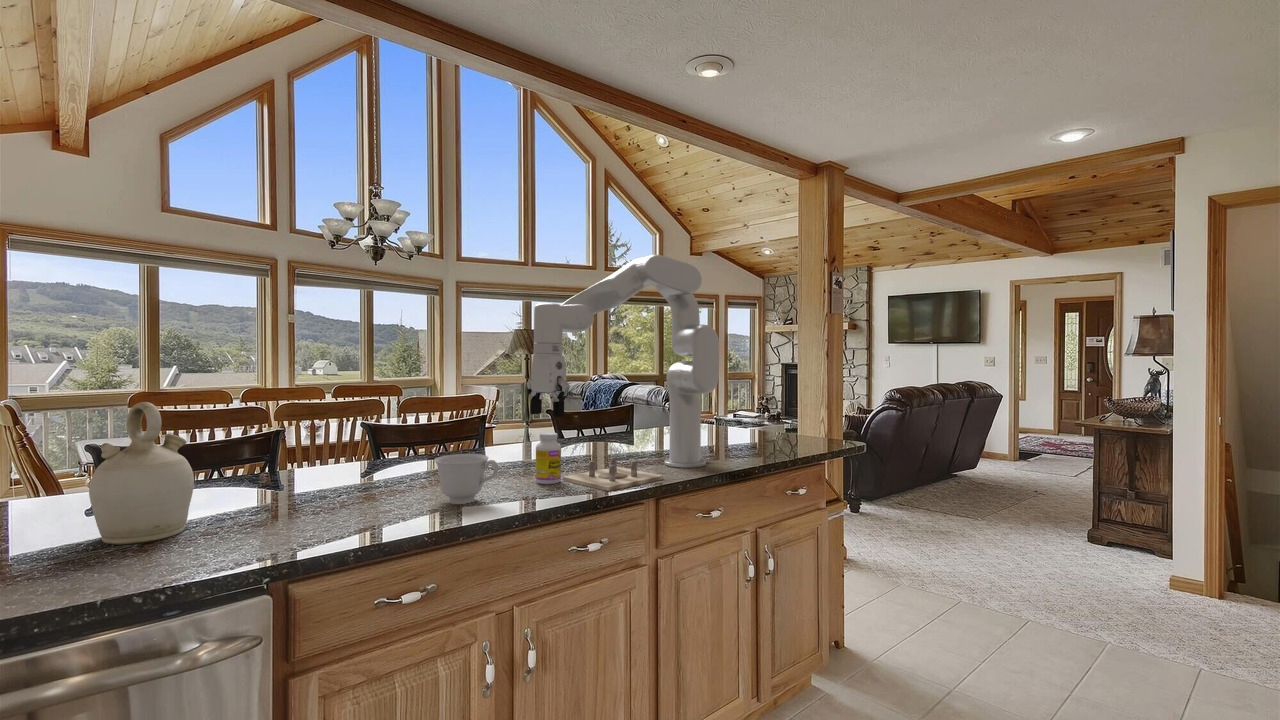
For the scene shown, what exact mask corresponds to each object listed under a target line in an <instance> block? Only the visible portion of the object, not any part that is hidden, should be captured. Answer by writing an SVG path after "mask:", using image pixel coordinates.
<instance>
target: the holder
mask: <svg viewBox="0 0 1280 720" xmlns="http://www.w3.org/2000/svg"><path fill="white" fill-rule="evenodd" d="M617 458H618V457H615V456H613V457H612V456H611V457H610V464H609V465H608V468H604V469H603V468H602V469H597V470H596V461H595V460H589V461H588V471H587V472H581V473H576V474H570V475H565V476H562V481H564V482H567V483H572V484H576V485H581V486H583V487H589V488H593V489H598V490H601V491H606V492H612V491H615V490H621V489H625V488H629V487H634V486H638V485H644V484H647V483H652V482H656V481H661V480H664V479H663V478H664V476H663V475H661V474H657V473H656V474H655V473H650V472H646V471H640V470H638V461H637V460H630V468H625V467H621V466H618V465H617Z"/></svg>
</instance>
